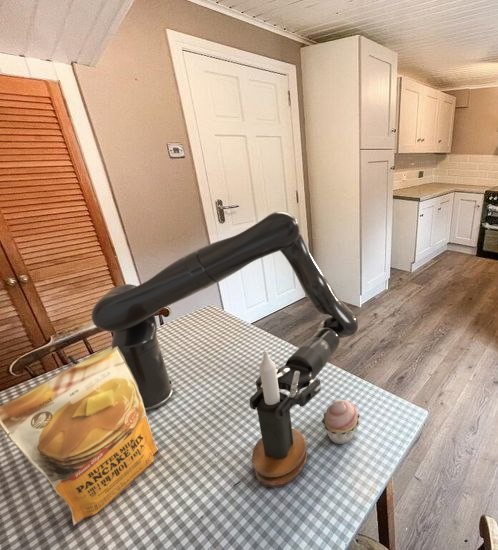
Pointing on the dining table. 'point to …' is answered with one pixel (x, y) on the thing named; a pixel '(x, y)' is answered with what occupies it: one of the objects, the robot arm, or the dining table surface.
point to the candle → (273, 413)
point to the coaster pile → (280, 463)
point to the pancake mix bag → (84, 431)
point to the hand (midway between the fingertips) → (264, 410)
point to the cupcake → (341, 421)
